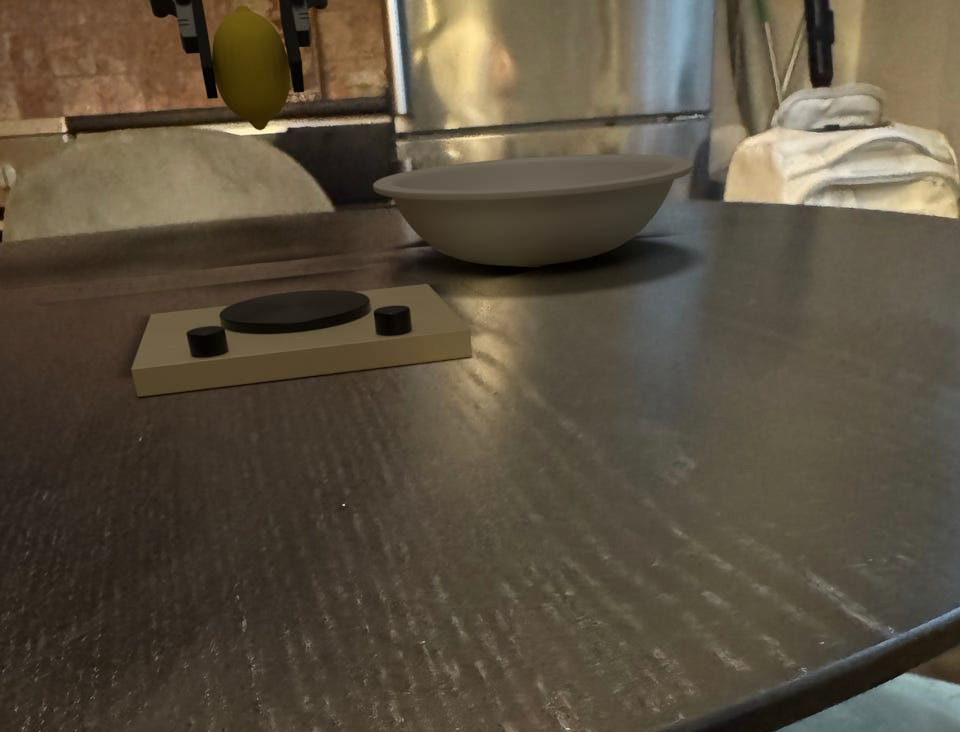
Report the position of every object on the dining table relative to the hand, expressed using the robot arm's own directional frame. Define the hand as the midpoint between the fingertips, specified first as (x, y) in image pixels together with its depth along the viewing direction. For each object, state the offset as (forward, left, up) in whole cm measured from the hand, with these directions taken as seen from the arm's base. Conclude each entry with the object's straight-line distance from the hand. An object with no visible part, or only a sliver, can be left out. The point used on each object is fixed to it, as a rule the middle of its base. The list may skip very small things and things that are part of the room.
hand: (254, 79), depth 70 cm
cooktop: (+21, 0, -14) cm, 25 cm away
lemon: (-4, 0, -4) cm, 5 cm away
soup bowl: (+2, +19, -14) cm, 24 cm away
